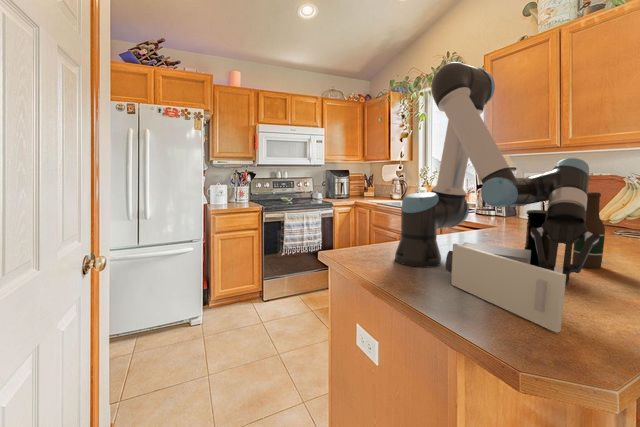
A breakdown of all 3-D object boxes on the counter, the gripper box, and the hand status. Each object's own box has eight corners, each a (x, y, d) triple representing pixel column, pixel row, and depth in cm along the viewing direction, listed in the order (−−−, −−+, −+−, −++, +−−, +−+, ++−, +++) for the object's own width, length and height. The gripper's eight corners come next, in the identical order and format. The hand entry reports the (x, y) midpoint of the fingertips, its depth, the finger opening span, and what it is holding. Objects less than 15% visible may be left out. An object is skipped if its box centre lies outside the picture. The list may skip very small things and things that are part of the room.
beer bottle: (595, 270, 96) (603, 193, 93) (566, 264, 103) (573, 192, 100) (606, 267, 100) (615, 192, 97) (577, 261, 107) (585, 191, 104)
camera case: (528, 287, 82) (531, 250, 81) (524, 299, 74) (527, 258, 73) (452, 273, 94) (454, 241, 92) (442, 282, 86) (444, 247, 84)
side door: (560, 331, 58) (566, 274, 57) (551, 333, 57) (556, 275, 56) (453, 283, 84) (455, 243, 83) (446, 284, 83) (448, 244, 82)
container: (543, 262, 106) (548, 209, 104) (561, 269, 97) (566, 212, 95) (515, 261, 107) (520, 209, 105) (530, 269, 98) (535, 212, 96)
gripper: (600, 222, 74) (594, 312, 64) (534, 217, 82) (519, 296, 72) (603, 202, 69) (598, 296, 59) (533, 199, 78) (518, 281, 67)
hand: (555, 296), depth 65 cm, fingers closed
